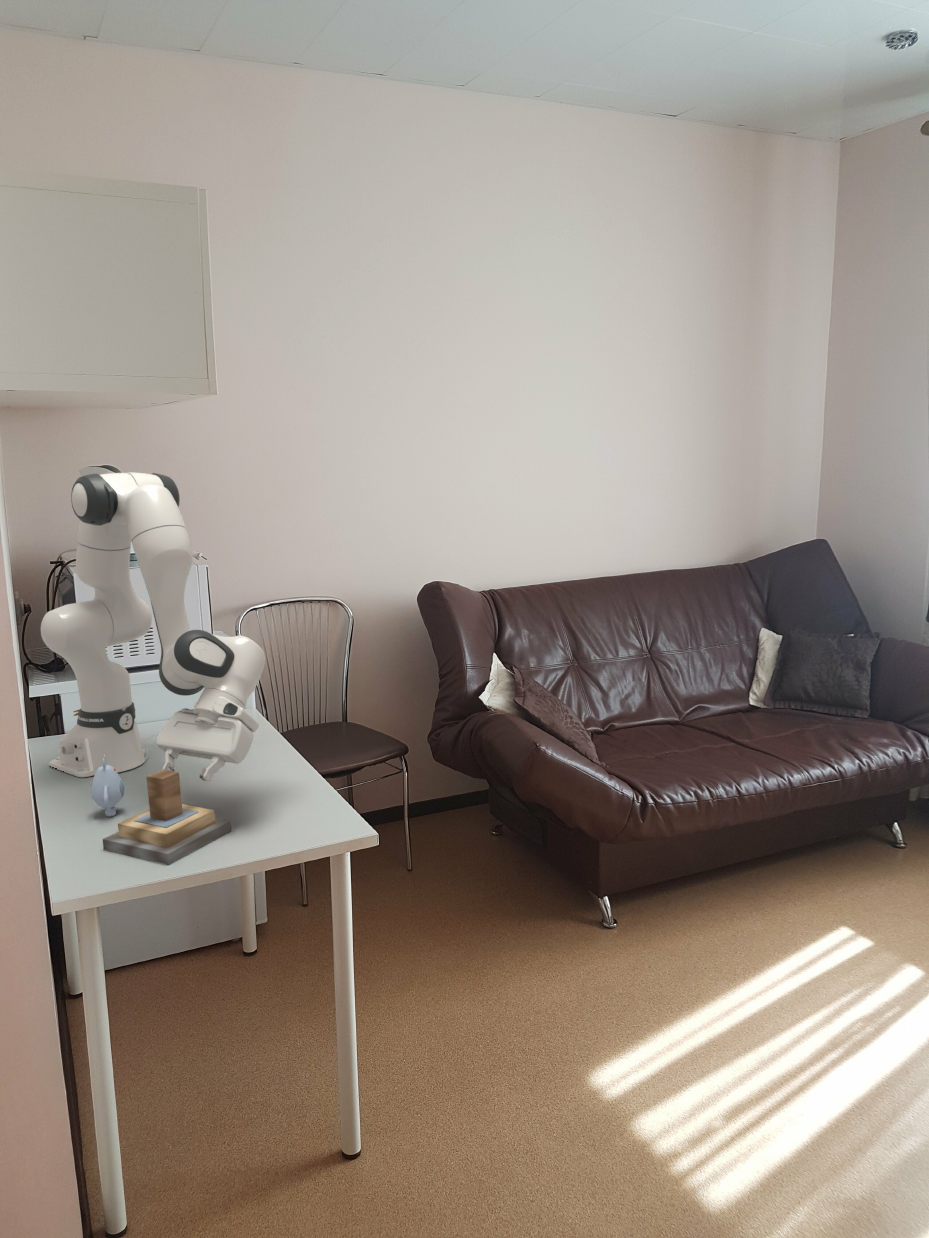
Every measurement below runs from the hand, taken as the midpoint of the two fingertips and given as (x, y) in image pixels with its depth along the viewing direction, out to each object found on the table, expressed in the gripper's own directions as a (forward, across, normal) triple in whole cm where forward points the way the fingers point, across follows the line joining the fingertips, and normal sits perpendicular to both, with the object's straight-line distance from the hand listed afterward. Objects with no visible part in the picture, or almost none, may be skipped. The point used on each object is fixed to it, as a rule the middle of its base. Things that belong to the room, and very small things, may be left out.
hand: (185, 776), depth 172 cm
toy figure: (+8, -21, +7) cm, 23 cm away
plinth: (+11, 0, +4) cm, 12 cm away
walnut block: (+8, 0, 0) cm, 8 cm away
